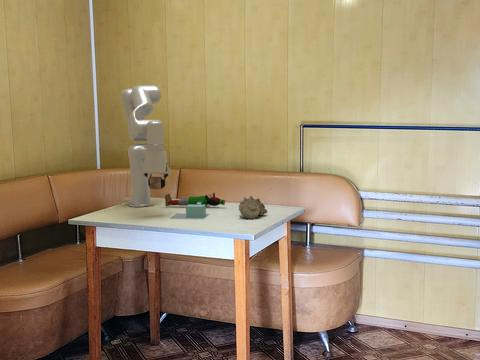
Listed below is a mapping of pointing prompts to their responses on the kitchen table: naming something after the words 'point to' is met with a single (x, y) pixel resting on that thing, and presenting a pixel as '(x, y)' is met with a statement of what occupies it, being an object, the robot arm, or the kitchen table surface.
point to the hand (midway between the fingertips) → (156, 187)
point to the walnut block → (155, 183)
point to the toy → (195, 201)
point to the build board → (183, 216)
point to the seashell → (251, 207)
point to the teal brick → (196, 211)
